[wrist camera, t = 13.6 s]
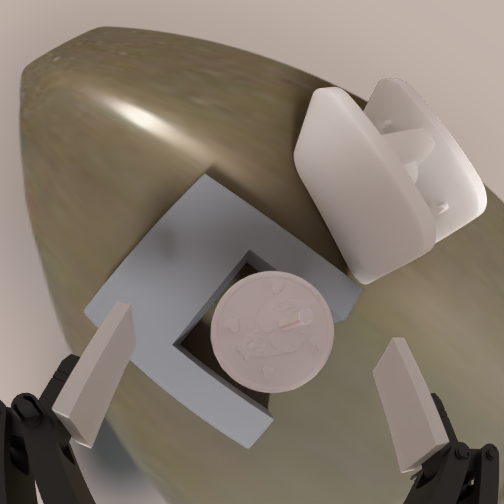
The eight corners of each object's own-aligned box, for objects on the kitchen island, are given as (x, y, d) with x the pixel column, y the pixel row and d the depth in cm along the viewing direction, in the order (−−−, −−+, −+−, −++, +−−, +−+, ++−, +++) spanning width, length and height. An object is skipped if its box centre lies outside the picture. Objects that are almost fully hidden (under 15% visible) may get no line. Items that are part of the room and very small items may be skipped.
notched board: (347, 296, 25) (363, 288, 21) (245, 435, 20) (248, 449, 17) (206, 193, 27) (204, 173, 23) (100, 316, 22) (83, 311, 19)
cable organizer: (283, 158, 29) (308, 71, 18) (360, 139, 31) (400, 69, 20) (353, 291, 25) (431, 250, 14) (426, 250, 27) (500, 203, 16)
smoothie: (309, 344, 23) (402, 337, 10) (247, 389, 21) (272, 447, 8) (264, 284, 24) (307, 209, 11) (202, 327, 23) (165, 302, 10)
